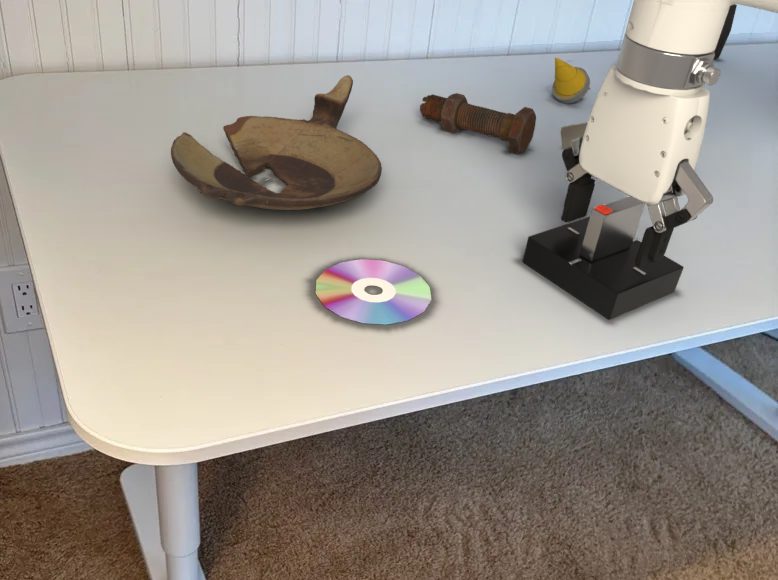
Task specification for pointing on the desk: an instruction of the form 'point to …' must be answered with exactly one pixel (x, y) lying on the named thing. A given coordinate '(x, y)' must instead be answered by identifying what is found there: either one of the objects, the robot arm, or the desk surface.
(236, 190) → the broken bowl
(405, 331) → the desk surface
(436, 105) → the bolt
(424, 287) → the cd
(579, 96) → the yellow spiral cone
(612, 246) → the gray slab
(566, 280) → the black lever switch box
